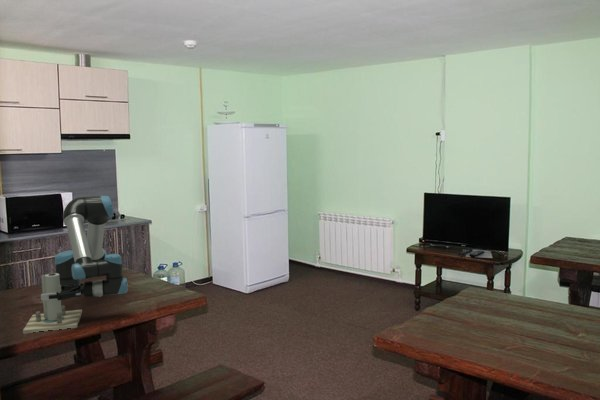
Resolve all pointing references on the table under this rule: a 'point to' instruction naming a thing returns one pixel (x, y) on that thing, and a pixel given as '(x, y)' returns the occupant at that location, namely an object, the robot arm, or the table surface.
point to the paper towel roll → (51, 286)
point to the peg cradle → (63, 321)
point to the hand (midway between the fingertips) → (43, 293)
